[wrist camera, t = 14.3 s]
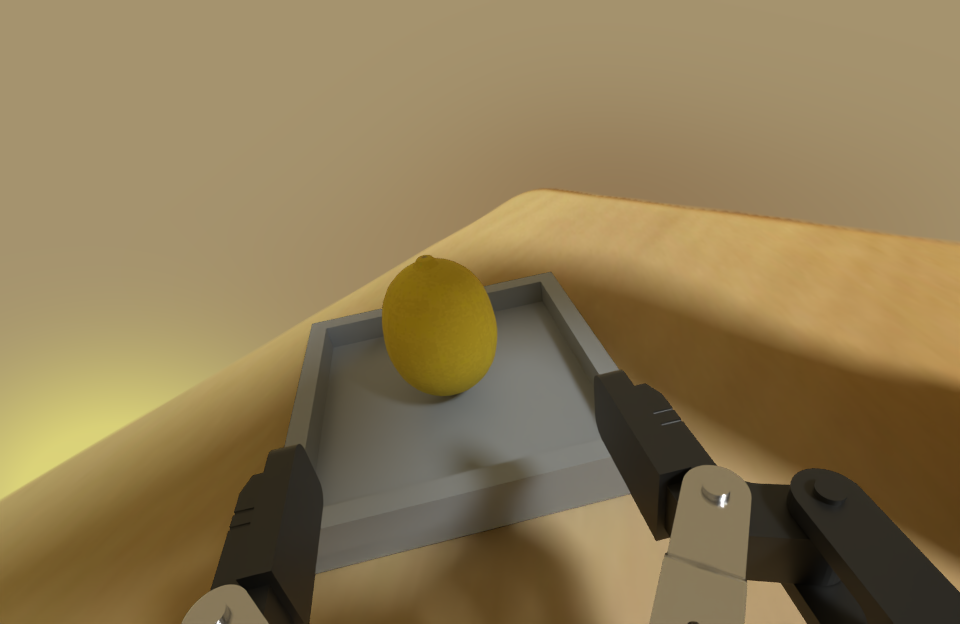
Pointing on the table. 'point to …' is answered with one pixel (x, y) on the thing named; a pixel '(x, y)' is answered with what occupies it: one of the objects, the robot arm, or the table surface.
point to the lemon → (439, 326)
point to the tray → (453, 430)
